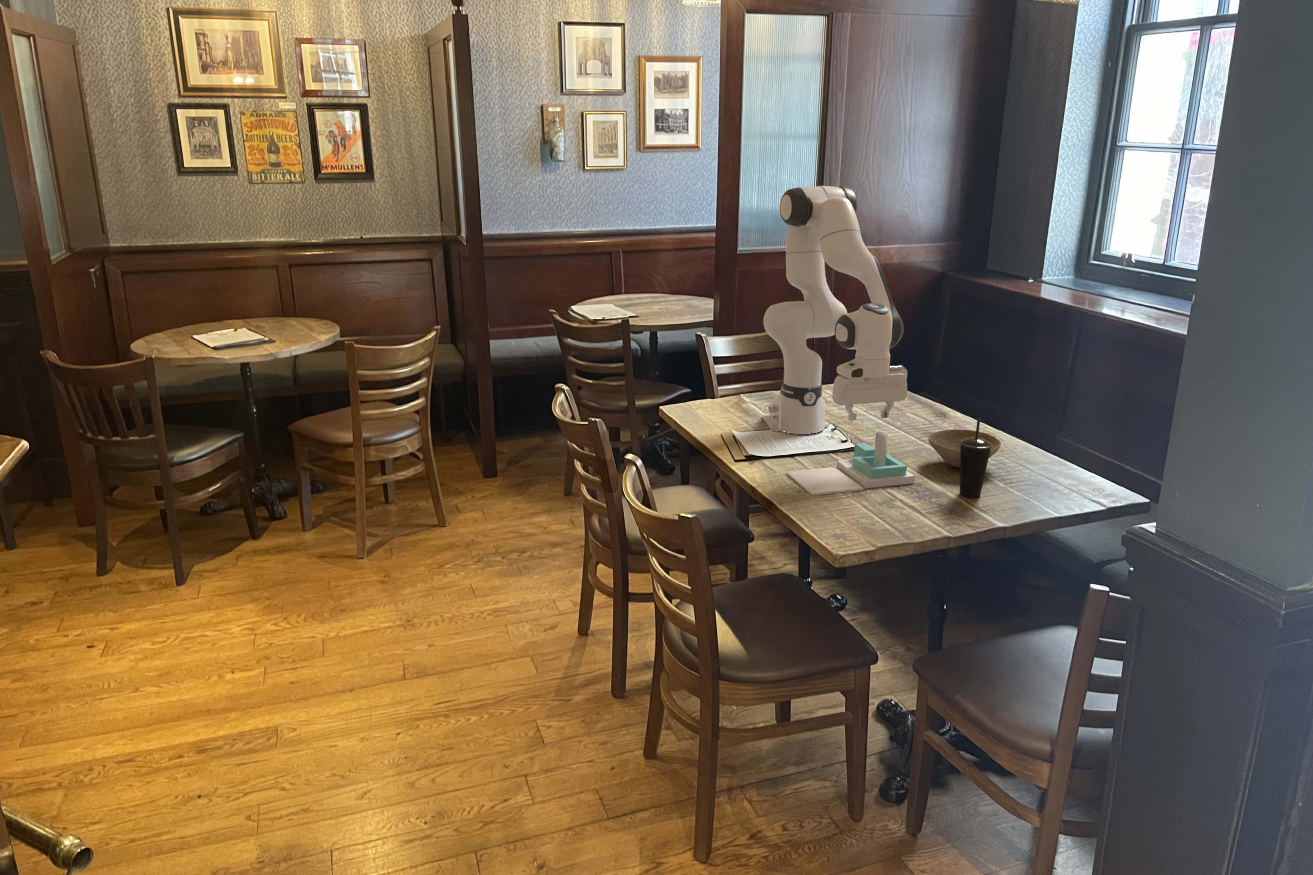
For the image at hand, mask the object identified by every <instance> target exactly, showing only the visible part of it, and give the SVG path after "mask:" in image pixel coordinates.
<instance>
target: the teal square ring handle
mask: <svg viewBox="0 0 1313 875" xmlns="http://www.w3.org/2000/svg"><path fill="white" fill-rule="evenodd" d="M853 452H854V453H853V457H852V459H853V467H855V468H856V469H857V470H859V471H860V472H862V473H863V474H865V475H866V476H867V477H869V478H870V479H875V478H885V477H895V476H905V475H906V471H908V470H907V469H908V467H907V465H905V464H904V463H903V462H901V461H899V460H898V459H896V458H894V457H893V456H891V455H889V453H886V463H885V466H881V467H873V464H874V452H875V447H873V446H871V445H869V444H868V443H866V442H858V443H854V451H853Z"/></svg>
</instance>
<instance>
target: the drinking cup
mask: <svg viewBox="0 0 1313 875" xmlns="http://www.w3.org/2000/svg"><path fill="white" fill-rule="evenodd" d="M980 424H981V417H977V420H976V428H975V431H976V435H975V437H970V438H966V439H962V440H960V445H961V446H960V468H959V495H960V496H961V497H962V498H964V499H965V498H966V499H972V500H973V499H975V500H976V499H979V498H981V494H982V493H981V492H982V488H983V484H984V481H985V477H986V475H985V474H986V471H987V467H988V463H989V459H990V458H989V454H990V450H991V448H992V446H993V445H992V443H991V442H989V441H987V440H985V439H982V438H978V435H979V432H980V426H981V425H980Z"/></svg>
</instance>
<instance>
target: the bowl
mask: <svg viewBox="0 0 1313 875" xmlns="http://www.w3.org/2000/svg"><path fill="white" fill-rule="evenodd" d="M975 435H976V430H969V429H962V428H961V429H945V430H940V431H935V432H932V433H931V434H930V435H929V436H928V439H927V440H928V443H929V444H930V446H931V448H932V449H933V450H935V452H936V453H937V454H938V455H939V456H940V457H941V459H942V460H943V461H944V462H945V463H946V464H947V465H950V466H952V467H955V468H957V469H958V468H959V469H960V446H961V445H960V440H962V439H966V438H970V437H975ZM978 438H982V439H985V440H987V441H989V442H991V443H992V445H993V446H992V448H991V450H990V454H989V459H990V458H991V457H992V456H994V455H995V454H996V453H997V452H998V451H999V449H1000V448H1001V446H1002V442H1001V441H1000V439H997V437H996V436H994V435H990V434H989V433H986V432H982V431H979V435H978Z"/></svg>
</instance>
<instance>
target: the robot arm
mask: <svg viewBox="0 0 1313 875" xmlns="http://www.w3.org/2000/svg"><path fill="white" fill-rule="evenodd" d="M857 210H858V200H857V196H856V194H855V192H854V191H853V190H852V189H851V188H849V187H845V186H839V185H838V186H833V185H832V186H830V185H829V186H828V185H817V186H809V187H808V186H807V187H800V186H799V187H792V188H790V189H787V190H786V191H785V192H784V193H783V195H782V196H781V199H780V202H779V212H780V216H781V219H782V221H783V222H784V223H785V224H786V225H788V227H787V233H786V239H785V240H786V241H785V243H786V244H785V273H786V274H785V275H786V276H785V277H786V280H787V281H788V283H789V285H791V286H792V287H794V288H796V289H798V290H800V292H801V293H802V295H803V300H798V301H797V300H796V301H794V300H793V301H782V302H779V303H775V304H771V305H770V306H769V307H768V308H767V309H766V310H765V312H764V316H763V320H762V321H763V327H764V330H765V333H766V334H767V335H768V336H769V337H771V338H772V339H773V340H774V341H775V342H776V343H777V344H778V346H779V348H780V350H781V352H782V357H783V364H784V365H783V368H784V369H783V371H784V372H783V381H782V383H781V387H780V394H778V395H776V397H775V398H773V400H771V403H770V404H769V405H768V407H767V408H768V409H767V410H768V412H767V413H764V414H762V419H763V420H764V422H765V423H766V426H768V428H769V430H770V431H771V432H777V431H785V432H789V433H796V434H795V435H798V434H809V433H816V432H820V431H822V430H823V429H824V430H825V429H826V428H829V427H830V426H829V424H830V423H829V422H828V421H826V401H825V400H824V399H823V398H822V395H823V384H822V372H823V370H822V369H823V361H822V358H821V356H820V355H819V354H818V353H817V352H816V351H814V350H812V349H810V348H809V347H808V346H807V340H808V339H813V338H814V339H818V338H828V337H833V336H834V338H835V341H836V343H838V345H839V346H840V347H841V348H842V349H847V350H855V351H856V352H855V355H854V356H855V357H854V359H852V360H849V361H846V362H844V363H842V364H841V363H840V364H839V365H838V366H837V367H836V373H837V374H838V375H837V376H836V377H835V378H834V381H833V387H832V395H831V399H832V401H833V402H834V403H835V404H837V405H838V406H844V408H845V410H846V412H847V413H848V417H847V418H848V420H849V421H851V422H853V421H857V417H858V416H857V413H855V412H854V411H853V409H854V405H862V404H863V405H864V404H876V403H884V404H885V406H884V408H883V409H882V410H880V418H882V419H888V418H890V412H891V410H892V408H893V407H894V405H895V404H894V403H895V402H902V401H905V400H906V399H907V397H908V383H907V381H908V380H907V379H908V370H907V368H906V367H904V366H903V365H890V364H891V353H890V349H893V348H894V347H895V346H897V344H898V343H899V342H900V341H901V339H902V338H903V336H904V333H905V332H904V331H905V330H904V329H905V328H904V322H903V320H902V318H901V316H900V314H899V313H898V311H897V309H896V306H895V304H894V301H893V298H892V295H891V292H890V290H889V286H888V283H887V280H886V278H885V274H884V273H883V269H882V267H881V265H880V261H879V260H878V258H877V257H876V256H875V255H874V254H872V253H871V252H870V250H869V249H868V248H867V246H866V245H865V242H864V240H863V238H862V233H861V228H860V224H859V221H858V217H857V214H856V213H857ZM826 264H827V265H828V266H829V267H830V268H831V269H833V270H835V271H837V272H839V273H843V274H845V275H849V276H851V277H853V278H855V279H857V280H859V281H860V282H861V283H862V284H863V285H864V287H865V289H866V291H867V294H868V297H869V299H870V303H865V304H862V305H861V306H860V307H859V309H858V310H856V311H853V312H852V311H851V312H848V310H847V308H846V307H845V305H844V304H843V303H842V302H841V301H840V300H838V299H837V298H836V297H835V296H834V294H833V293H832V292H831V290H830V287H829V284H828V283H827V282H828V281H827V278H826V267H825V265H826ZM825 427H826V428H825ZM824 430H823V431H824ZM823 431H822V432H823ZM785 432H784V433H785ZM789 433H788V434H789ZM820 433H821V432H820ZM816 434H817V433H816ZM809 435H810V434H809Z"/></svg>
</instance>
